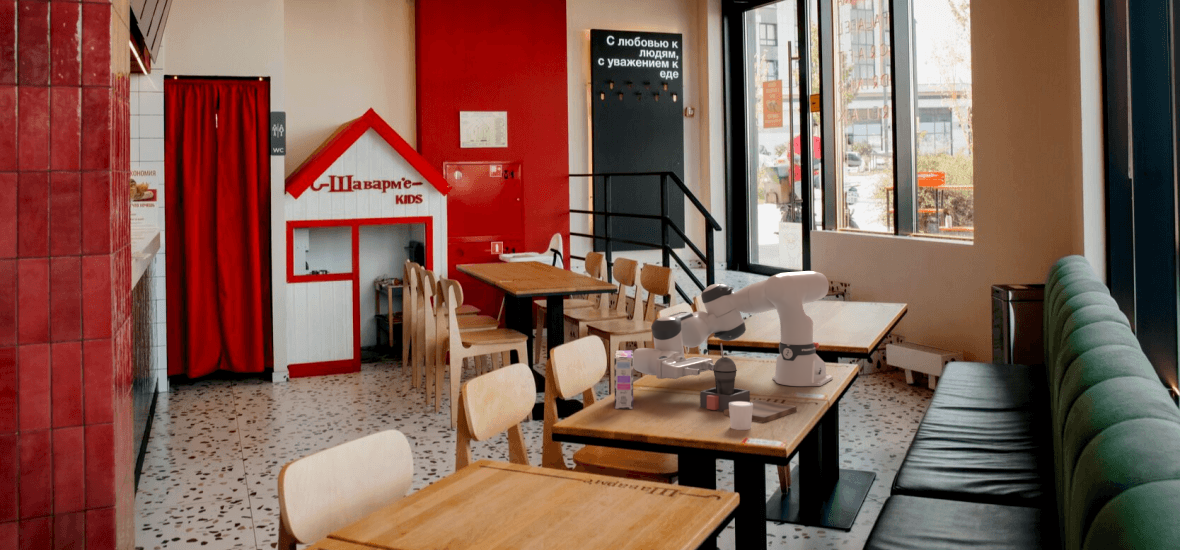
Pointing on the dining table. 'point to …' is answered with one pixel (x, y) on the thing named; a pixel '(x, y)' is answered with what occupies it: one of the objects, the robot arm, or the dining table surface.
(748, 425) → the white cup
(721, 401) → the dark grey open box
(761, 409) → the walnut mat
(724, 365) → the beverage cup
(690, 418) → the dining table surface
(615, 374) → the candy box
